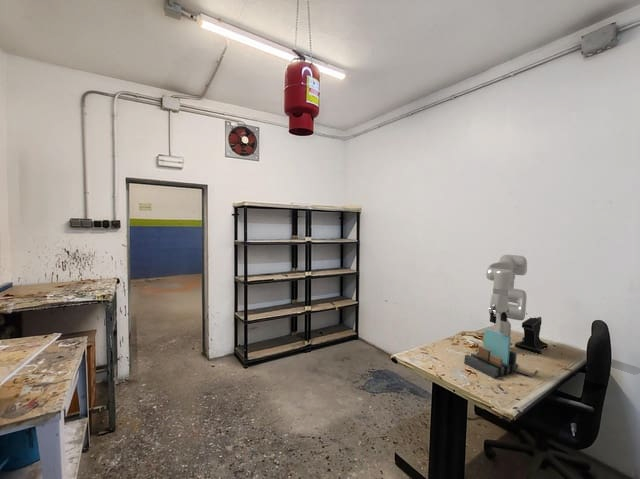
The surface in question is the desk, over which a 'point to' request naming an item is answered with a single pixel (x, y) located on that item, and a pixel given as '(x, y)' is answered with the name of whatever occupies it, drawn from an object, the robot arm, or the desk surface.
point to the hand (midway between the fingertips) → (498, 321)
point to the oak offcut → (496, 360)
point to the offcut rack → (491, 365)
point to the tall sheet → (497, 344)
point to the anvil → (531, 336)
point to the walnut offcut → (484, 353)
